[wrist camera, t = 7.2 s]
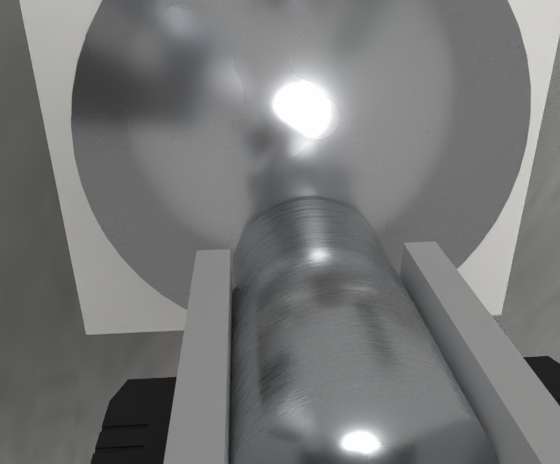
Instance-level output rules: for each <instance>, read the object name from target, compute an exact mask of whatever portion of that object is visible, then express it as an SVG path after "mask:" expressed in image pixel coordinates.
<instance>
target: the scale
mask: <svg viewBox="0 0 560 464" xmlns="http://www.w3.org/2000/svg"><path fill="white" fill-rule="evenodd" d="M19 1H20V6H21V11H22V16H23V21H24V26H25V31H26V36H27V41H28V46H29V51H30V56H31V61H32V66H33V71H34V76H35V81H36V86H37V91H38V96H39V101H40V106H41V111H42V116H43V121H44V126H45V131H46V136H47V141H48V146H49V151H50V156H51V161H52V166H53V171H54V176H55V181H56V186H57V191H58V197H59V202H60V207H61V212H62V217H63V222H64V227H65V232H66V237H67V242H68V247H69V252H70V257H71V262H72V267H73V272H74V277H75V282H76V287H77V292H78V297H79V302H80V307H81V312H82V317H83V322H84V327H85V332H86V335H95V334H115V333H136V332H157V331H178V330H184V328H185V321H186V315H187V310H186V309H183V308H182V307H180V306H178V305H177V304H175V303H174V302H172V301H171V300H169V299H168V298H166V297H164V296H163V295H161V294H160V293H159V292H157V291H156V290H155V289H154V288H153V287H151V286H150V285H149V284H148V283H146V282H145V281H144V280H143V279H142V278H140V277H139V276H138V275H137V273H136V272H135V271H134V270H133V269H132V268H131V267H130V266H129V265H128V264H127V263H126V262H125V261H124V260H123V259H122V258H121V256H120V255H119V254H118V252H117V251H116V249H115V248H114V247H113V245H112V244H111V243H110V241H109V240H108V239H107V237H106V236H105V234H104V232H103V231H102V229H101V227H100V225H99V223H98V222H97V220H96V218H95V216H94V214H93V213H92V210H91V208H90V205H89V203H88V200H87V198H86V195H85V193H84V190H83V188H82V185H81V181H80V177H79V173H78V169H77V165H76V161H75V157H74V150H73V141H72V132H71V104H72V90H73V84H74V78H75V73H76V67H77V62H78V59H79V55H80V52H81V49H82V46H83V43H84V40H85V37H86V33H87V31H88V29H89V26H90V24H91V22H92V20H93V18H94V16H95V14H96V12H97V10H98V8H99V6H100V4H101V2H102V0H19ZM508 2H509V4H510V6H511V9H512V11H513V13H514V16H515V18H516V20H517V23H518V25H519V28H520V32H521V35H522V39H523V43H524V46H525V50H526V54H527V59H528V67H529V75H530V83H531V116H530V124H529V131H528V139H527V145H526V149H525V153H524V156H523V160H522V164H521V168H520V171H519V174H518V176H517V179H516V181H515V184H514V186H513V189H512V191H511V194H510V196H509V199H508V200H507V202H506V204H505V206H504V208H503V210H502V212H501V213H500V215H499V217H498V219H497V221H496V222H495V224H494V225H493V227H492V228H491V230H490V231H489V232H488V234H487V235H486V237H485V238H484V240H483V241H482V242H481V244H480V245H479V246H478V247H477V248H476V250H475V251H474V252H473V253H472V254H471V255H470V256H469V258H468V259H467V260H466V261H465V262H464V263H463V264H462V265H461V266H460V267H459V268H458V269H457V270H458V272H459V273H460V274H461V276H462V277H463V278H464V280H465V281H466V282H467V284H468V285H469V286H470V288H471V289H472V290H473V292H474V293H475V294H476V296H477V297H478V298H479V300H480V301H481V302H482V304H483V305H484V306H485V308H486V309H487V310H488V312H489V313H490V314H491V315H501V313H502V308H503V303H504V299H505V294H506V289H507V284H508V279H509V275H510V270H511V265H512V260H513V255H514V251H515V246H516V241H517V236H518V232H519V227H520V222H521V217H522V212H523V208H524V203H525V198H526V193H527V188H528V184H529V179H530V174H531V169H532V164H533V160H534V155H535V150H536V145H537V141H538V136H539V131H540V126H541V121H542V117H543V112H544V107H545V102H546V97H547V93H548V88H549V83H550V78H551V73H552V69H553V64H554V59H555V54H556V49H557V45H558V40H559V35H560V0H508Z"/></svg>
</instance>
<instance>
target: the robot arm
mask: <svg viewBox="0 0 560 464" xmlns="http://www.w3.org/2000/svg"><path fill="white" fill-rule="evenodd" d="M400 278H401V280H402V282H403V284H404V286H405V287H406V289H407V291H408V293H409V295H410V296H411V298H412V300H413V302H414V304H415V306H416V307H417V309H418V311H419V313H420V315H421V317H422V318H423V320H424V322H425V324H426V326H427V327H428V329H429V331H430V333H431V335H432V337H433V338H434V340H435V342H436V344H437V346H438V348H439V349H440V351H441V353H442V355H443V357H444V359H445V360H446V362H447V364H448V366H449V368H450V369H451V371H452V373H453V375H454V377H455V379H456V380H457V382H458V384H459V386H460V388H461V390H462V391H463V393H464V395H465V397H466V399H467V401H468V402H469V404H470V406H471V408H472V410H473V411H474V413H475V415H476V417H477V419H478V421H479V422H480V424H481V426H482V428H483V430H484V432H485V433H486V435H487V437H488V439H489V441H490V443H491V445H492V447H493V449H494V452H495V454H496V458H497V462H498V464H560V364H559V363H558V362H556V361H555V360H553V359H552V358H550V357H549V356H540V357H522V355H521V354H520V353H519V351H518V350H517V349H516V347H515V346H514V345H513V343H512V342H511V341H510V340H509V338H508V337H507V336H506V334H505V333H504V332H503V330H502V329H501V328H500V326H499V325H498V324H497V322H496V321H495V320H494V318H493V317H492V316H491V314H490V313H489V312H488V310H487V309H486V308H485V306H484V305H483V304H482V302H481V301H480V300H479V298H478V297H477V296H476V294H475V293H474V292H473V290H472V289H471V288H470V286H469V285H468V284H467V282H466V281H465V280H464V278H463V277H462V276H461V274H460V273H459V272H458V270H457V269H456V268H455V266H454V265H453V264H452V262H451V261H450V260H449V258H448V257H447V256H446V254H445V253H444V252H443V250H442V249H441V248H440V247H439V245H438V244H437V243H436V242H410V243H403V252H402V261H401V271H400ZM232 302H233V289H232V270H231V251H230V249H223V250H197V251H196V257H195V264H194V270H193V276H192V283H191V289H190V296H189V302H188V309H187V315H186V321H185V328H184V334H183V341H182V347H181V354H180V360H179V366H178V373H177V377H168V378H149V379H129V380H127V381H126V383H125V384H124V385H123V386H122V387H121V389H120V390H119V391H118V392H117V393H116V394H115V396H114V397H113V398H112V399H111V400H110V402H109V405H108V408H107V411H106V415H105V418H104V421H103V425H102V432H100V434H99V438H98V441H97V444H96V447H95V454H93V457H92V460H91V464H229V453H230V403H231V352H232Z"/></svg>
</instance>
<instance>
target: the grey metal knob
mask: <svg viewBox="0 0 560 464" xmlns="http://www.w3.org/2000/svg"><path fill="white" fill-rule="evenodd" d="M232 289H233V302H232V352H231V403H230V453H229V464H498V462H497V458H496V454H495V452H494V449H493V447H492V445H491V443H490V441H489V439H488V437H487V435H486V433H485V432H484V430H483V428H482V426H481V424H480V422H479V421H478V419H477V417H476V415H475V413H474V411H473V410H472V408H471V406H470V404H469V402H468V401H467V399H466V397H465V395H464V393H463V391H462V390H461V388H460V386H459V384H458V382H457V380H456V379H455V377H454V375H453V373H452V371H451V369H450V368H449V366H448V364H447V362H446V360H445V359H444V357H443V355H442V353H441V351H440V349H439V348H438V346H437V344H436V342H435V340H434V338H433V337H432V335H431V333H430V331H429V329H428V327H427V326H426V324H425V322H424V320H423V318H422V317H421V315H420V313H419V311H418V309H417V307H416V306H415V304H414V302H413V300H412V298H411V296H410V295H409V293H408V291H407V289H406V287H405V286H404V284H403V282H402V280H401V278H400V276H399V275H398V273H397V271H396V269H395V267H394V265H393V264H392V262H391V260H390V258H389V256H388V254H387V253H386V251H385V249H384V247H383V245H382V244H381V242H380V240H379V238H378V236H377V234H376V233H375V231H374V229H373V228H372V226H371V225H370V224H369V223H368V221H367V220H366V219H365V218H364V217H363V216H362V215H360V214H359V213H358V212H357V211H355V210H353V209H352V208H350V207H349V206H346V205H344V204H342V203H339V202H336V201H333V200H329V199H322V198H301V199H296V200H291V201H287V202H284V203H281V204H279V205H277V206H275V207H273V208H270V209H269V210H267V211H266V212H264V213H263V214H261V215H260V216H259V217H258V218H256V219H255V220H254V221H253V222H252V223H251V224H250V225H249V227H248V228H247V229H246V230H245V232H244V233H243V235H242V236H241V238H240V240H239V242H238V244H237V247H236V250H235V253H234V258H233V274H232Z"/></svg>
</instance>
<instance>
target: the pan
mask: <svg viewBox="0 0 560 464" xmlns="http://www.w3.org/2000/svg"><path fill="white" fill-rule="evenodd" d="M530 116H531V83H530V75H529V67H528V59H527V54H526V50H525V46H524V43H523V39H522V35H521V32H520V28H519V25H518V23H517V20H516V18H515V16H514V13H513V11H512V9H511V6H510V4H509V2H508V0H102V2H101V4H100V6H99V8H98V10H97V12H96V14H95V16H94V18H93V20H92V22H91V24H90V26H89V29H88V31H87V33H86V37H85V40H84V43H83V46H82V49H81V52H80V55H79V59H78V62H77V67H76V73H75V78H74V84H73V90H72V104H71V132H72V141H73V150H74V157H75V161H76V165H77V169H78V173H79V177H80V181H81V185H82V188H83V190H84V193H85V195H86V198H87V200H88V203H89V205H90V208H91V210H92V213H93V214H94V216H95V218H96V220H97V222H98V223H99V225H100V227H101V229H102V231H103V232H104V234H105V236H106V237H107V239H108V240H109V241H110V243H111V244H112V245H113V247H114V248H115V249H116V251H117V252H118V254H119V255H120V256H121V258H122V259H123V260H124V261H125V262H126V263H127V264H128V265H129V266H130V267H131V268H132V269H133V270H134V271H135V272H136V273H137V275H138V276H139V277H140V278H142V279H143V280H144V281H145V282H146V283H148V284H149V285H150V286H151V287H153V288H154V289H155V290H156V291H157V292H159V293H160V294H161V295H163V296H164V297H166V298H168V299H169V300H171V301H172V302H174V303H175V304H177V305H178V306H180V307H182V308H183V309H186V310H187V309H188V302H189V296H190V289H191V283H192V276H193V270H194V264H195V257H196V251H197V250H223V249H230V251H231V270H232V274H233V258H234V253H235V250H236V247H237V244H238V242H239V240H240V238H241V236H242V235H243V233H244V232H245V230H246V229H247V228H248V227H249V225H250V224H251V223H252V222H253V221H254V220H255V219H256V218H258V217H259V216H260V215H261V214H263V213H264V212H266V211H267V210H269V209H270V208H273V207H275V206H277V205H279V204H281V203H284V202H287V201H291V200H296V199H301V198H322V199H329V200H333V201H336V202H339V203H342V204H344V205H346V206H349V207H350V208H352V209H353V210H355V211H357V212H358V213H359V214H360V215H362V216H363V217H364V218H365V219H366V220H367V221H368V223H369V224H370V225H371V226H372V228H373V229H374V231H375V233H376V234H377V236H378V238H379V240H380V242H381V244H382V245H383V247H384V249H385V251H386V253H387V254H388V256H389V258H390V260H391V262H392V264H393V265H394V267H395V269H396V271H397V273H398V275H399V276H400V271H401V261H402V252H403V243H410V242H436V243H437V244H438V245H439V247H440V248H441V249H442V250H443V252H444V253H445V254H446V256H447V257H448V258H449V260H450V261H451V262H452V264H453V265H454V266H455V268H456V269H458V268H459V267H460V266H461V265H462V264H463V263H464V262H465V261H466V260H467V259H468V258H469V256H470V255H471V254H472V253H473V252H474V251H475V250H476V248H477V247H478V246H479V245H480V244H481V242H482V241H483V240H484V238H485V237H486V235H487V234H488V232H489V231H490V230H491V228H492V227H493V225H494V224H495V222H496V221H497V219H498V217H499V215H500V213H501V212H502V210H503V208H504V206H505V204H506V202H507V200H508V199H509V196H510V194H511V191H512V189H513V186H514V184H515V181H516V179H517V176H518V174H519V171H520V168H521V164H522V160H523V156H524V153H525V149H526V145H527V139H528V131H529V124H530Z"/></svg>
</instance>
